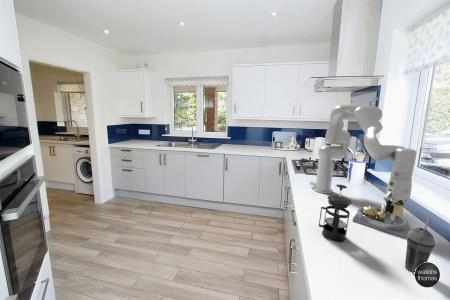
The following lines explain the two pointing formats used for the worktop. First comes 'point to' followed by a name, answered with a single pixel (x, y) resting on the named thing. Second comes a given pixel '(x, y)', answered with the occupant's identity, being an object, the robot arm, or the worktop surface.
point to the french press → (336, 218)
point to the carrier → (381, 220)
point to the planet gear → (397, 209)
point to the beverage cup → (418, 247)
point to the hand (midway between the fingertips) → (393, 211)
